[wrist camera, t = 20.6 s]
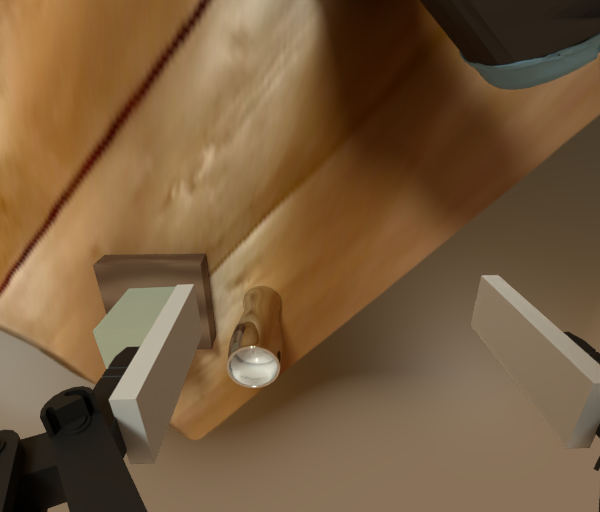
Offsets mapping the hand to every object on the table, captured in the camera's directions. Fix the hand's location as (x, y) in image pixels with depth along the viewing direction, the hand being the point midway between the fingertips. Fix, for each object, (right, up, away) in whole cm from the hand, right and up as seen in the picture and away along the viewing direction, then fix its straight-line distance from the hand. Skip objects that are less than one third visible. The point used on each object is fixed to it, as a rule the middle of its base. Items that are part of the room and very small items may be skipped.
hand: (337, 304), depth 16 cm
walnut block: (-23, -4, +40) cm, 47 cm away
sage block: (-23, -5, +36) cm, 43 cm away
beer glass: (-8, -5, +41) cm, 42 cm away
